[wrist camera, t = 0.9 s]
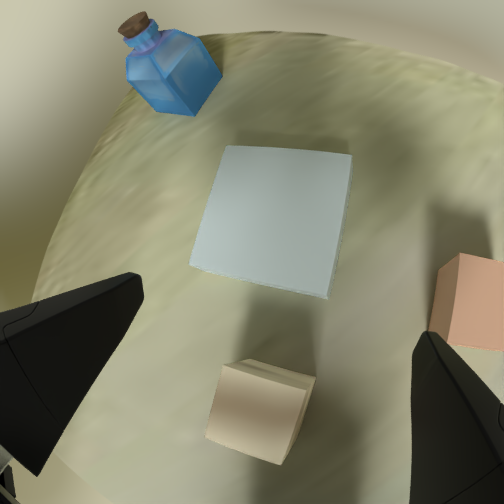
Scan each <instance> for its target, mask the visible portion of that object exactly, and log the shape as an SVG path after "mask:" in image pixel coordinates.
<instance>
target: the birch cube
mask: <svg viewBox="0 0 504 504" xmlns="http://www.w3.org/2000/svg"><path fill="white" fill-rule="evenodd" d="M315 380H316V377H314V376H310V375H306V374H302V373H298V372H295V371H291V370H287V369H284V368H280V367H276V366H273V365H270V364H266V363H263V362H259V361H256V360H253V359H247V360H243V361H238V362H234V363H230V364H225V365H223V366H222V370H221V374H220V378H219V382H218V385H217V389H216V393H215V397H214V400H213V404H212V408H211V412H210V416H209V419H208V423H207V427H206V431H205V435H204V437H205V438H207V439H210V440H212V441H214V442H217V443H219V444H222V445H224V446H227V447H229V448H232V449H234V450H237V451H239V452H242V453H245V454H248V455H250V456H253V457H256V458H259V459H262V460H265V461H268V462H271V463H274V464H278V465H282V463H283V461H284V460H285V458H286V456H287V455H288V453H289V451H290V450H291V448H292V446H293V444H294V443H295V441H296V439H297V436H298V433H299V431H300V428H301V425H302V422H303V419H304V416H305V413H306V410H307V406H308V403H309V400H310V397H311V394H312V390H313V387H314V384H315Z"/></svg>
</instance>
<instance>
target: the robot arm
mask: <svg viewBox="0 0 504 504" xmlns="http://www.w3.org/2000/svg"><path fill="white" fill-rule="evenodd" d="M143 300H144V292H143V285H142V278H141V276H140V275H139V274H136V273H132V272H128V273H124V274H121V275H118V276H115V277H112V278H108V279H105V280H102V281H99V282H96V283H93V284H90V285H86V286H83V287H80V288H77V289H74V290H71V291H68V292H65V293H62V294H59V295H56V296H52V297H49V298H46V299H43V300H41V301H37V302H34V303H31V304H28V305H25V306H22V307H18V308H15V309H12V310H8V311H4V312H0V504H20V503H19V502H18V501H17V500H16V499H15V497H16V494H15V488H14V481H13V474H12V467H10V466H9V465H8V464H9V463H10V461H11V460H12V459H13V457H14V458H15V459H16V460H17V461H19V462H20V463H21V464H22V465H23V466H24V467H25V468H26V469H28V470H29V471H30V472H31V473H32V474H34V475H35V476H36V477H37V476H38V475H39V474H40V472H41V470H42V469H43V467H44V465H45V463H46V461H47V459H48V458H49V456H50V454H51V452H52V451H53V449H54V447H55V446H56V444H57V442H58V440H59V439H60V437H61V435H62V434H63V432H64V431H63V430H65V428H66V427H67V425H68V423H69V422H70V420H71V418H72V417H73V415H74V413H75V412H76V410H77V408H78V407H79V405H80V404H81V402H82V400H83V399H84V397H85V396H86V394H87V392H88V391H89V389H90V388H91V386H92V384H93V383H94V381H95V380H96V378H97V377H98V375H99V374H100V372H101V371H102V369H103V367H104V366H105V364H106V363H107V361H108V360H109V358H110V357H111V355H112V354H113V352H114V351H115V349H116V348H117V346H118V345H119V343H120V342H121V340H122V339H123V337H124V336H125V334H126V332H127V330H128V328H129V327H130V325H131V323H132V321H133V319H134V317H135V315H136V314H137V312H138V310H139V308H140V306H141V305H142V303H143ZM411 423H412V464H411V486H410V500H409V504H504V405H503V403H500V400H499V399H498V398H497V397H496V395H495V394H494V393H493V392H492V391H491V390H490V389H489V388H488V386H487V385H486V384H485V383H484V382H483V381H482V380H481V379H480V378H479V376H478V375H477V374H476V373H475V372H474V371H473V370H472V369H471V368H470V367H469V366H468V364H467V363H466V362H465V361H464V360H463V359H462V358H461V357H460V356H459V355H458V354H457V353H456V352H455V351H454V350H453V349H452V348H451V347H450V346H449V345H448V344H447V342H446V341H445V340H444V339H443V338H442V337H441V336H440V335H439V334H438V333H437V332H433V331H424V332H423V333H422V335H421V337H420V339H419V341H418V343H417V345H416V347H415V349H414V351H413V354H412V378H411Z"/></svg>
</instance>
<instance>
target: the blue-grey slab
mask: <svg viewBox="0 0 504 504" xmlns="http://www.w3.org/2000/svg"><path fill="white" fill-rule="evenodd" d="M352 176H353V162H352V155H349V154H341V153H332V152H323V151H313V150H302V149H290V148H276V147H258V146H232V145H226V148H225V150H224V153H223V156H222V159H221V162H220V165H219V168H218V171H217V174H216V177H215V180H214V183H213V186H212V189H211V192H210V195H209V198H208V201H207V205H206V208H205V211H204V214H203V217H202V221H201V224H200V227H199V230H198V234H197V237H196V240H195V244H194V247H193V251H192V254H191V257H190V261H189V265H191V266H193V267H196V268H198V269H200V270H203V271H205V272H209V273H214V274H218V275H222V276H226V277H230V278H235V279H239V280H243V281H247V282H252V283H256V284H260V285H265V286H269V287H274V288H278V289H283V290H287V291H292V292H296V293H301V294H305V295H310V296H315V297H319V298H324V299H330V294H331V290H332V285H333V281H334V276H335V272H336V267H337V262H338V257H339V252H340V247H341V242H342V236H343V231H344V226H345V220H346V214H347V208H348V202H349V196H350V189H351V183H352Z"/></svg>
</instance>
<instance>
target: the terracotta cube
mask: <svg viewBox="0 0 504 504" xmlns="http://www.w3.org/2000/svg"><path fill="white" fill-rule="evenodd" d="M428 331H433V332H437V333H438V334H439V335H440V336H441V337H442V338H443V339H444V340H445V341H446V342H447V344H450V345H456V346H463V347H470V348H477V349H484V350H494V351H504V262H500V261H496V260H492V259H487V258H483V257H478V256H473V255H469V254H464V253H459V254H458V255H457V256H455V257H454V258H453V259H452V260H450V261H449V262H448V263H447V264H445V265H444V266H443V267H441V268H440V269H439V270H438V275H437V283H436V290H435V296H434V302H433V308H432V313H431V319H430V324H429V329H428Z"/></svg>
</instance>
